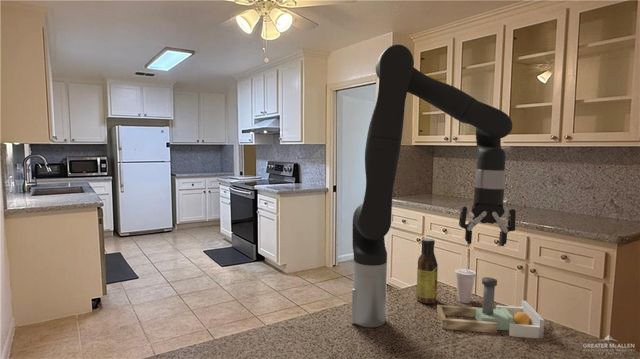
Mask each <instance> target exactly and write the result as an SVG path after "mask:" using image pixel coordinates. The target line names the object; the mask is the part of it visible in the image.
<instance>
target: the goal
mask: <svg viewBox="0 0 640 359" xmlns="http://www.w3.org/2000/svg"><path fill="white" fill-rule="evenodd" d="M495 306H496V307H495V309H501V307H503V308H506V309H507V310H508V311H509V313H510V314H511V315H512V316H513V318H514V315H515V314H516V313H518V312H524V313H526V314H527V315H528V316H529V318H530V323H529V325H524V324H516V323H513V324H511V323H510V327H509V330H508V334H509V337H516V338H527V339H528V338H529V339H544V331H545V319H544V318H542V316H541V315H540V313H538V312H537V311H536V310H535V309H534V308H533V307H532V305H530V303H528V302H527V300H521V306H512V305H511V306H510V305H497V304H496V305H495Z"/></svg>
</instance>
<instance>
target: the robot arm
mask: <svg viewBox="0 0 640 359" xmlns="http://www.w3.org/2000/svg"><path fill="white" fill-rule="evenodd" d="M414 65H415V60H414V55H413V53H412V52H411V50H410V48H408V47H407V46H405V45H403V44H393V45H390V46H388V47H387V48H385V49H384V50H383V52H382V53H381V54H380V55H379V57H378V59H377V61H376V64H375V75H376V76H377V78H378V89H377V90H378V91H377V98H376V102H375V106H374V109H373V113H372V114H371V119H370V122H369V126H368V130H367V135H366V136H367V137H366V142H365V150H364V168H365V169H364V170H365V171H364V172H365V182H366V183H365V191H364V196H363V203H360V205H358V206H357V207H356V209H355V210H354V212H353V216H352V251H353V253H352V254H353V268H352V270H353V271H352V273H353V276H352V290H351V291H352V294H351V324H352V325H353V324H354V325H357V326H360V327H363V328H378V327H381V326H383V325H384V324H385V323H386V308H387V307H386V304H387V303H386V300H387V275H388V274H387V271H388V269H387V267H388V250H387V246H386V240H385V237H386V235H387V234H388V233H389V231H390V229H391V227H392V226H391V224H392V217H393V216H392V213H393V211H392V210H393V193H394V192H393V191H394V185H395V181H396V175H397V169H398V164H399V158H400V152H401V145H402V139H403V129H404V121H405V120H404V119H405V108H406V107H405V106H406V99H407V94H411V95H412V96H414V97H417V98H419V99H421V100H423V101H425V102H426V103H428V104H430V105H432V106H433V107H435V108H436V109H438V110H439V111H441V112H443V113H445V114H446V115H448V116H449V117H451V118H453V119H454V120H456V121H459V122H460V123H462V124H465V125H467V124H468V125H470V126H473V127H475V141H476V149H477V160H476V161H477V162H476V170H475V172H476V173H475V178H474V183H473V184H474V187H473V188H474V190H473V191H474V192H473V204H472V206H465V205H461V206H460V211H459V219H458V220H459V221H458V225H459V227H460V228H462V229H464V232H465V234H464V240H465V242H466V243H467V244H468V245H472V240H473V229H474V228H475V227H476V226H477V225H479V223H481V224H487V223H488V224H491V225H492V224H495V225H497V226H498V228H499V229H500V231H499V240H498V244H499V246H500V247H504V246H505V245H506V244H507V243H508V242H507V241H508V233H509V232H514V231H516V216H517V214H516V212H517V211H516V210H515V209H514V208H511V207H508V208H504V199H505V198H504V197H505V185H506V184H505V183H506V174H505V173H506V172H505V169H506V157H507V156H506V151H505V150H504V149H503V148H502V146H501V144H502V142H501V139H503V138H505V137H507V136H508V135H510V133H511V132H512V129H513V121H512V119H511V118H510V116H509V115H508V114H507V113H506V112H504V111H502V110H501V109H498V108H496V107H495V106H491V105H489V104H486V103H485V102H482V101H479V100H478V99H476V98H475V97H473V96H471V95H470V94H468V93H466V92H465V91H463V90H462V89H459V88H457V87H455V86H453V85H450V84H449V83H445V82H443V81H440V80H437V79H435V78H432V77H430V76H428V75H426V74H424V73H422V72H421V71H419V69H417V68H416V67H414ZM470 212H471V213H472V214H473V216H472V217H471V218H470V219H469V222H467V223H466V221H467V215H469V214H470ZM504 214H505V215H506V217H507V226H506V225H505V223H504V222H503V220H502V219H501V218H502V217H503V215H504Z"/></svg>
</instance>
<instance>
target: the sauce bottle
mask: <svg viewBox="0 0 640 359" xmlns="http://www.w3.org/2000/svg"><path fill="white" fill-rule="evenodd" d="M420 241H421V254H420V255H419V257H418V260H417V271H416V272H417V273H416V276H417V277H416V296H417V297H416V298H417V301H419V303H422V304H430V305H431V304H432V305H433V304H434V303H436V301H437V297H438V266H439V264H438V261H437V258H436V255H435V241H436V240H435V239H433V238H421V240H420Z"/></svg>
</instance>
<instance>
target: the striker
mask: <svg viewBox="0 0 640 359" xmlns="http://www.w3.org/2000/svg"><path fill="white" fill-rule="evenodd" d="M481 284H482V285H483V295H482V297H483V298H482V307H476V308H475V317H474V319H475V321H487V322H496V323H497V331H509V327H510V323H511V324H514V318H513V316H512V315H511V314H510V313H509V311H508V310H507V309H506V308H503V307H501V309H496V308H494V307H495V290H496V287H497V285H498V280H497V279H496V278H493V277H482V278H481Z"/></svg>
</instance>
